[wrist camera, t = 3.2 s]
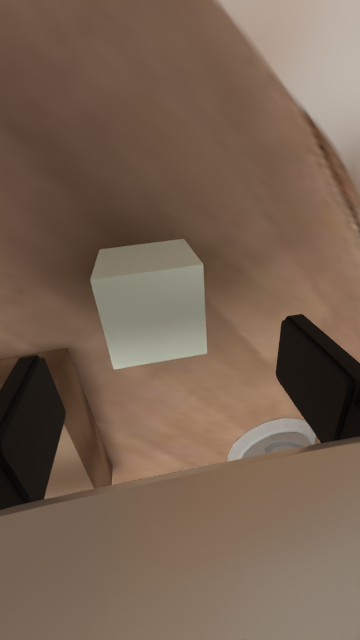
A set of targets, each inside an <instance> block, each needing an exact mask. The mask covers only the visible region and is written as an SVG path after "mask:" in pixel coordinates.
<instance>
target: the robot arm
mask: <svg viewBox="0 0 360 640" xmlns="http://www.w3.org/2000/svg"><path fill="white" fill-rule="evenodd" d="M276 376H277V379H278V381H279V382H280V384H281V385H282V387H283V388H284V390H285V391H286V393H287V394H288V395H289V397H290V398H291V400H292V401H293V403H294V404H295V406H296V407H297V409H298V410H299V411H300V413H301V414H302V416H303V417H304V419H305V420H306V422H307V423H308V424H309V426H310V427H311V429H312V430H313V432H314V433H315V435H316V436H317V438H318V439H319V440H320V442H321V443H320V444H315V445H309V446H304V447H299V448H294V449H289V450H284V451H279V452H273V453H268V454H263V455H258V456H253V457H248V458H243V459H238V460H233V461H228V462H223V463H218V464H213V465H208V466H203V467H198V468H193V469H188V470H183V471H178V472H173V473H168V474H163V475H158V476H153V477H148V478H143V479H138V480H133V481H129V482H124V483H119V484H114V485H109V486H104V487H100V488H95V489H90V490H85V491H80V492H75V493H71V494H66V495H62V496H57V497H53V498H48V499H44V497H45V493H46V489H47V485H48V482H49V478H50V474H51V470H52V467H53V463H54V459H55V455H56V451H57V448H58V444H59V440H60V436H61V432H62V429H63V425H64V421H65V417H66V412H65V407H64V405H63V402H62V400H61V398H60V395H59V393H58V390H57V388H56V385H55V383H54V380H53V378H52V375H51V373H50V371H49V368H48V366H47V363H46V361H45V359H44V358H40V357H39V356H38V355H31V356H24V357H20V358H19V359H18V360H17V362H16V364H15V366H14V367H13V369H12V371H11V372H10V374H9V376H8V377H7V379H6V381H5V382H4V384H3V386H2V388H1V389H0V640H360V363H359V362H358V361H356V360H355V359H354V358H353V357H352V356H351V355H349V354H348V353H347V352H346V351H345V350H344V349H342V348H341V347H340V346H339V345H338V344H337V343H335V342H334V341H333V340H332V339H331V338H330V337H328V336H327V335H326V334H325V333H324V332H323V331H321V330H320V329H319V328H318V327H317V326H316V325H314V324H313V323H312V322H311V321H310V320H309V319H307V318H306V317H305V316H304V315H302V314H299V315H292V316H287V317H286V319H285V320H283V321H282V324H281V332H280V341H279V349H278V358H277V367H276Z"/></svg>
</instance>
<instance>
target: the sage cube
mask: <svg viewBox="0 0 360 640" xmlns="http://www.w3.org/2000/svg"><path fill="white" fill-rule="evenodd" d="M90 282H91V286H92V289H93V293H94V297H95V301H96V305H97V308H98V312H99V316H100V320H101V324H102V327H103V331H104V335H105V339H106V342H107V346H108V350H109V354H110V358H111V361H112V365H113V369H120V368H126V367H132V366H137V365H143V364H149V363H155V362H161V361H166V360H172V359H178V358H184V357H190V356H196V355H201V354H207V341H206V316H205V292H204V268H203V263H202V262H201V261H200V259H199V258H198V257H197V255H196V254H195V253H194V252H193V250H192V249H191V248H190V246H189V245H188V244H187V242H186V241H185V240H184V239H178V240H170V241H162V242H154V243H146V244H138V245H131V246H123V247H115V248H107V249H99V253H98V256H97V259H96V262H95V266H94V269H93V272H92V275H91V278H90Z"/></svg>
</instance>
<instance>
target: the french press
mask: <svg viewBox="0 0 360 640" xmlns="http://www.w3.org/2000/svg"><path fill="white" fill-rule="evenodd" d="M315 438H316V435H315V433H314V432H313V430H312V429H311V427H310V426H309V424H308V423H307V422H305V421H303V420H301V419H291V418H281V419H277V420H273V421H269V422H265V423H263V424H261V425H259V426H257V427H255V428H253V429H251V430H249V431H247V432H246V433H245V434H244V435H243V436H242V437H241V438H239V439H238V440H237V441H236V442H235V443H234V444H233V446H232V448H231V450H230V452H229V454H228V456H227V457H228V461H233V460H238V459H243V458H248V457H253V456H258V455H263V454H268V453H273V452H279V451H284V450H289V449H294V448H299V447H304V446H309V445H314V444H315Z"/></svg>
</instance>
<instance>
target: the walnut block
mask: <svg viewBox="0 0 360 640" xmlns="http://www.w3.org/2000/svg"><path fill="white" fill-rule="evenodd" d="M31 355H38V356H39V357H40V358H44V359H45V361H46V363H47V366H48V368H49V371H50V373H51V375H52V378H53V380H54V383H55V385H56V388H57V390H58V393H59V395H60V398H61V400H62V402H63V405H64V407H65V412H66V417H65V421H64V425H63V429H62V432H61V436H60V440H59V444H58V448H57V451H56V455H55V459H54V463H53V467H52V470H51V474H50V478H49V482H48V485H47V489H46V493H45V497H44V499H48V498H53V497H57V496H62V495H66V494H71V493H75V492H80V491H85V490H90V489H95V488H100V487H104V486H109V485H112V465H111V462H110V460H109V457H108V454H107V452H106V449H105V447H104V444H103V441H102V439H101V436H100V433H99V431H98V428H97V425H96V423H95V420H94V418H93V415H92V412H91V410H90V407H89V404H88V402H87V399H86V396H85V394H84V391H83V388H82V386H81V383H80V381H79V378H78V375H77V373H76V370H75V367H74V365H73V362H72V359H71V357H70V354H69V351H68V349H67V348H65V349H59V350H53V351H47V352H42V353H36V354H30V355H24V356H31ZM24 356H19V357H13V358H7V359H1V360H0V389H1V388H2V386H3V384H4V382H5V381H6V379H7V377H8V376H9V374H10V372H11V371H12V369H13V367H14V366H15V364H16V362H17V360H18V359H19V358H20V357H24Z"/></svg>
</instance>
